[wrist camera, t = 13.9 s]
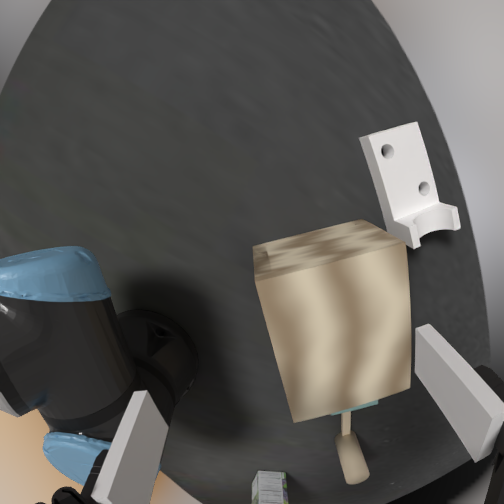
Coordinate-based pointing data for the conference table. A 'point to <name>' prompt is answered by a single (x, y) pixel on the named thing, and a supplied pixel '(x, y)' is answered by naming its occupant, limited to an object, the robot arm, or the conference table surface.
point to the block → (351, 448)
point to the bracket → (406, 184)
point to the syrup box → (269, 488)
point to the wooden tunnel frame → (337, 316)
